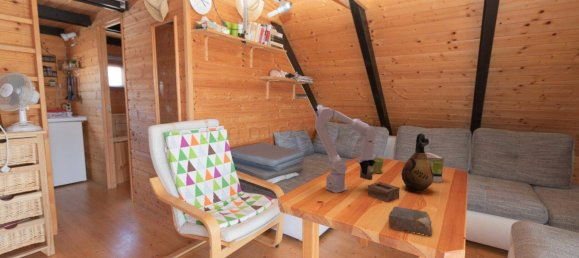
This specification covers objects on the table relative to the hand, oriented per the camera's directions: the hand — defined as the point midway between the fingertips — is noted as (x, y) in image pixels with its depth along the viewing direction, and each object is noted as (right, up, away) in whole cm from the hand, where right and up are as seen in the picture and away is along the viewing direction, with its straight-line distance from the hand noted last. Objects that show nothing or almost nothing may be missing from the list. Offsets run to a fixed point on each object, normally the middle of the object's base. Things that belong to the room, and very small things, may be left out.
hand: (366, 174), depth 145 cm
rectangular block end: (0, -2, 0) cm, 2 cm away
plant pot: (+15, -5, +33) cm, 37 cm away
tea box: (+43, -7, +22) cm, 49 cm away
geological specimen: (+5, -14, -40) cm, 43 cm away
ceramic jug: (+27, -9, +2) cm, 28 cm away
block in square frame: (+6, -9, -10) cm, 15 cm away
